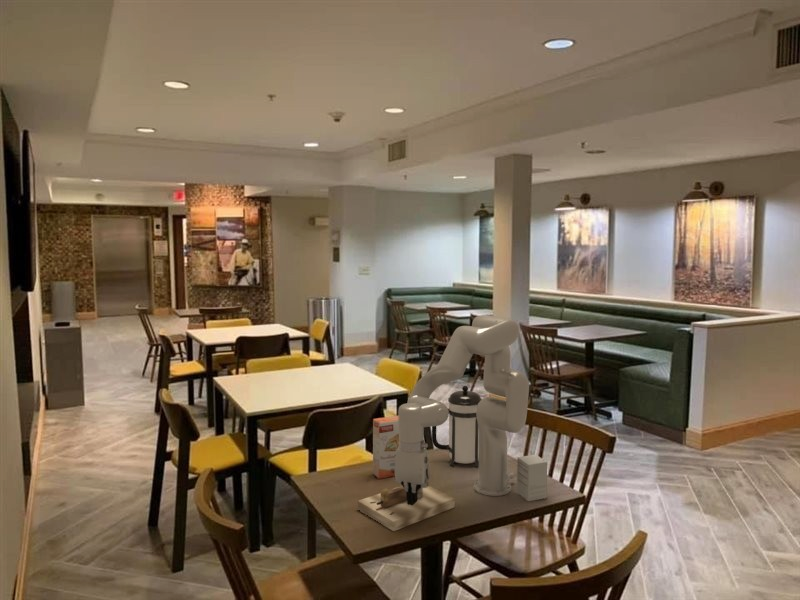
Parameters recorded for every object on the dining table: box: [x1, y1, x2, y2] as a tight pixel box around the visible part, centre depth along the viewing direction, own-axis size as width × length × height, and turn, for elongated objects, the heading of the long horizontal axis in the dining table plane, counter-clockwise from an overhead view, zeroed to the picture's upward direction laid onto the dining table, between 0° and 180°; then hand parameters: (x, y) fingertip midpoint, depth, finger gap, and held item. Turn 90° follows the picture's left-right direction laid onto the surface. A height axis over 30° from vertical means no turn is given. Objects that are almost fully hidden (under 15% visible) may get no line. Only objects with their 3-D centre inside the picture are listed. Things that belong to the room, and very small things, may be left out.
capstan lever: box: [377, 483, 423, 508], centre depth 185 cm, size 18×5×5 cm, turn 129°
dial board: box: [357, 485, 456, 532], centre depth 187 cm, size 25×18×3 cm
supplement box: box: [516, 454, 548, 502], centre depth 196 cm, size 7×7×13 cm
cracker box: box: [372, 415, 399, 480], centre depth 215 cm, size 14×6×21 cm, turn 117°
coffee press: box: [431, 385, 483, 469], centre depth 225 cm, size 17×16×30 cm
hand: (412, 503), depth 179 cm, fingers closed
